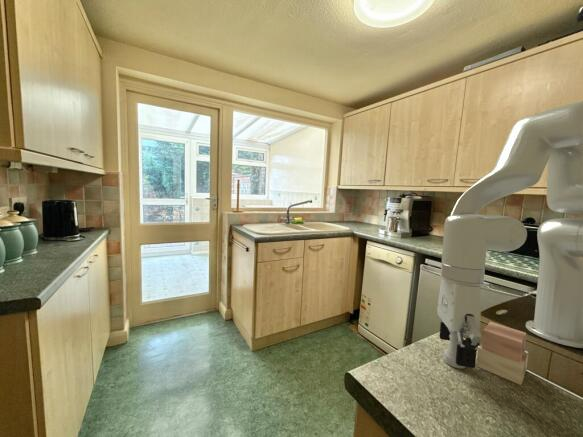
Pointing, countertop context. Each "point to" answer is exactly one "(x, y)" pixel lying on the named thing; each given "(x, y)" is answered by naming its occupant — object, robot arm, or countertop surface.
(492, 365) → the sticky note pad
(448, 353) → the rook chess piece
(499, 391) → the countertop surface
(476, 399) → the countertop surface
